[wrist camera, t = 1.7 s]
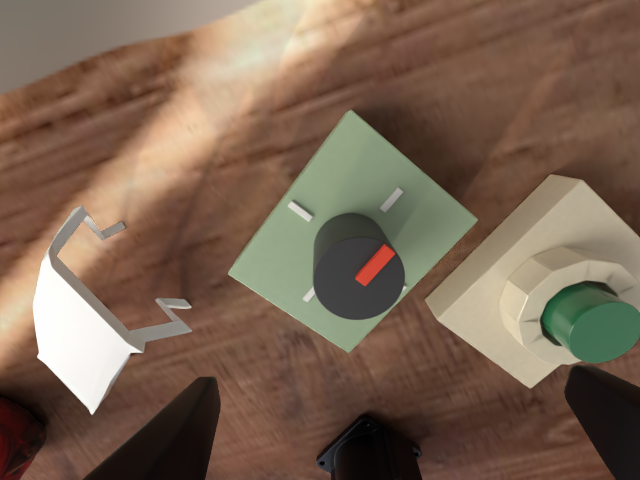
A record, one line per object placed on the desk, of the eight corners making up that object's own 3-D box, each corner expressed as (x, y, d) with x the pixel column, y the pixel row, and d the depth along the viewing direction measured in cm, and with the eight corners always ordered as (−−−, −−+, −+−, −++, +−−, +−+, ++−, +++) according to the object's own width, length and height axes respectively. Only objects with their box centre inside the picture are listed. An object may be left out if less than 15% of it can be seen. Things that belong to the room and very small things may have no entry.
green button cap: (567, 348, 18) (597, 374, 16) (527, 316, 18) (553, 339, 16) (620, 306, 17) (658, 328, 15) (580, 270, 17) (615, 288, 15)
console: (344, 325, 22) (349, 355, 20) (239, 254, 21) (226, 275, 18) (456, 207, 20) (480, 220, 17) (345, 112, 18) (351, 108, 15)
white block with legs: (221, 343, 23) (196, 398, 18) (116, 369, 24) (67, 427, 19) (149, 185, 19) (94, 202, 14) (26, 220, 20) (-63, 248, 15)
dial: (354, 293, 18) (364, 339, 14) (299, 254, 17) (293, 291, 13) (401, 242, 17) (426, 276, 13) (344, 197, 16) (353, 219, 12)
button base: (509, 363, 24) (551, 414, 19) (423, 299, 22) (449, 340, 18) (636, 257, 21) (717, 289, 17) (550, 173, 19) (616, 185, 15)
